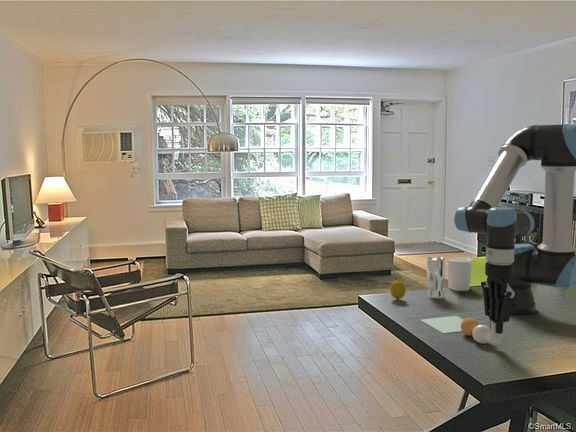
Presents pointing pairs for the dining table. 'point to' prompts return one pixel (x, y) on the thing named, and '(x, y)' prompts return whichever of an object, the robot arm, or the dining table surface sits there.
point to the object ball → (468, 326)
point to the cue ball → (481, 334)
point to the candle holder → (459, 273)
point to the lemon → (398, 289)
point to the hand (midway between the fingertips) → (495, 342)
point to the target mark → (445, 324)
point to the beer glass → (435, 277)
